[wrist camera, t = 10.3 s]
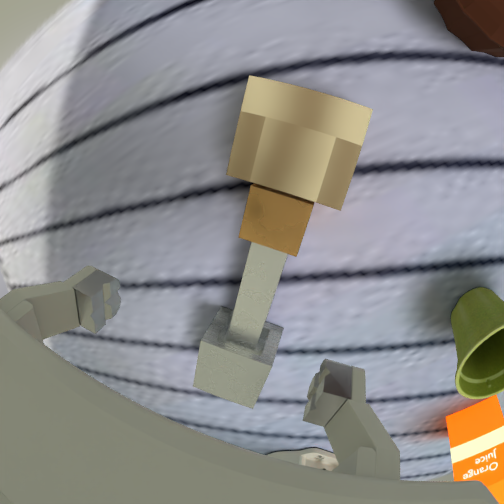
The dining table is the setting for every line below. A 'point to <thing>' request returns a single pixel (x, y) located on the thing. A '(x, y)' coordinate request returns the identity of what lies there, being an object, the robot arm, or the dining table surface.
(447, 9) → the muffin
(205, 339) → the outer sleeve
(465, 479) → the orange juice
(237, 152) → the socket block
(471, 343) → the plant pot
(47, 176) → the dining table surface
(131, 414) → the robot arm
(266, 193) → the tube
